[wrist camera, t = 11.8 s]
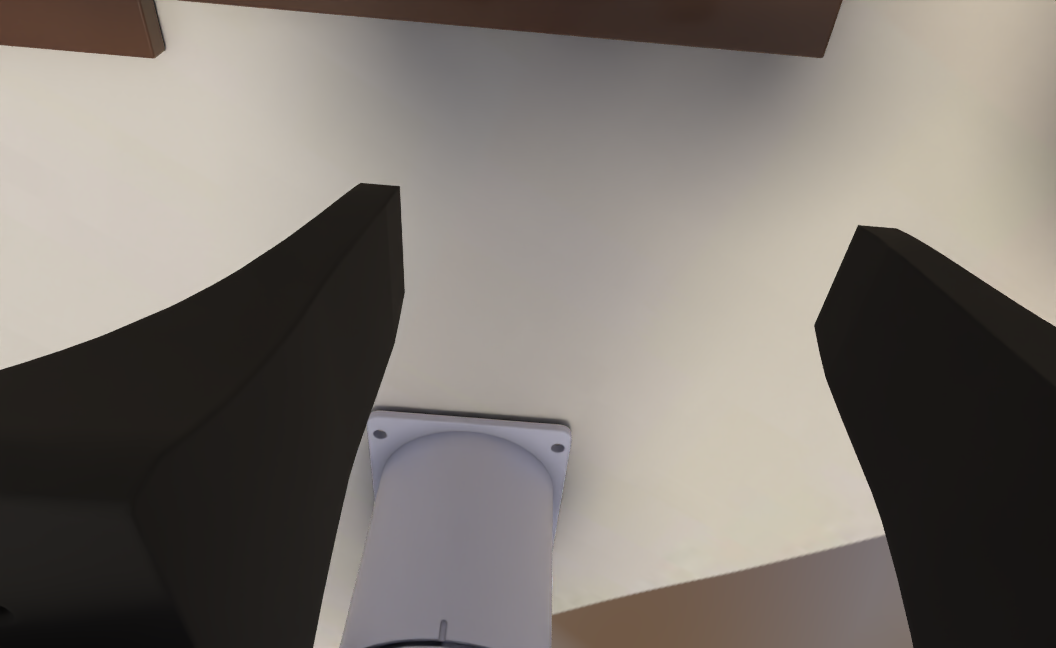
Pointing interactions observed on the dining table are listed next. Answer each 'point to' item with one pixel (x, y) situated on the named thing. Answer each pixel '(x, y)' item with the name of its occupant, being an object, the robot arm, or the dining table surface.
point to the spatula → (455, 21)
